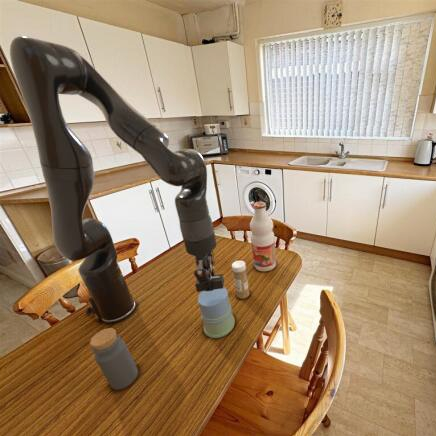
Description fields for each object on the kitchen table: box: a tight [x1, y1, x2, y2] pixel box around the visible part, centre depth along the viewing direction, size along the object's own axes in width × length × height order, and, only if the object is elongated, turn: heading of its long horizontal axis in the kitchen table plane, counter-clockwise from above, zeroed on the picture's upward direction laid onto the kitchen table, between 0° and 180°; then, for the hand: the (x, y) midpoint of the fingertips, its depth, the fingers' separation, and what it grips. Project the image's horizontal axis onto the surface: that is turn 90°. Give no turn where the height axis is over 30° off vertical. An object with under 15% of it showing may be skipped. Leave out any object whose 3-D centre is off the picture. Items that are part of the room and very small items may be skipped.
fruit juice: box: [249, 201, 277, 272], centre depth 95 cm, size 9×9×28 cm
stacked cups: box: [197, 286, 236, 339], centre depth 71 cm, size 9×9×12 cm
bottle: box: [89, 327, 139, 391], centre depth 57 cm, size 6×6×15 cm
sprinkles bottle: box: [231, 260, 250, 300], centre depth 82 cm, size 5×5×14 cm
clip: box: [195, 273, 225, 293], centre depth 66 cm, size 7×3×3 cm, turn 99°
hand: (210, 285), depth 67 cm, fingers closed on clip, 3 cm apart
